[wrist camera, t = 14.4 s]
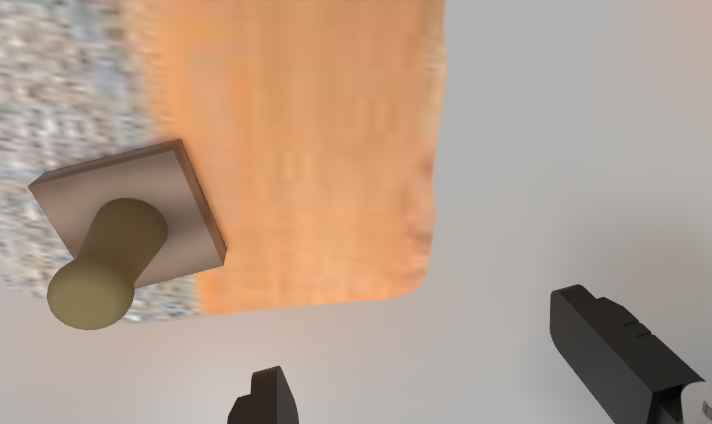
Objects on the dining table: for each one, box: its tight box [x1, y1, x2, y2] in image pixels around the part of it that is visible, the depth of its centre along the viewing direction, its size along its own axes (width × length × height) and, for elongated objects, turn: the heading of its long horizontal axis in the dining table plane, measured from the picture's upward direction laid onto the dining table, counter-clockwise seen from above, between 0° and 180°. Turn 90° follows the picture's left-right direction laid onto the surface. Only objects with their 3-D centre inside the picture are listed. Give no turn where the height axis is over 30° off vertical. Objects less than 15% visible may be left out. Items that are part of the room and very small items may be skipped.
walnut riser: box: [28, 139, 227, 289], centre depth 39 cm, size 12×12×3 cm
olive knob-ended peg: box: [47, 198, 168, 330], centre depth 33 cm, size 6×6×11 cm
